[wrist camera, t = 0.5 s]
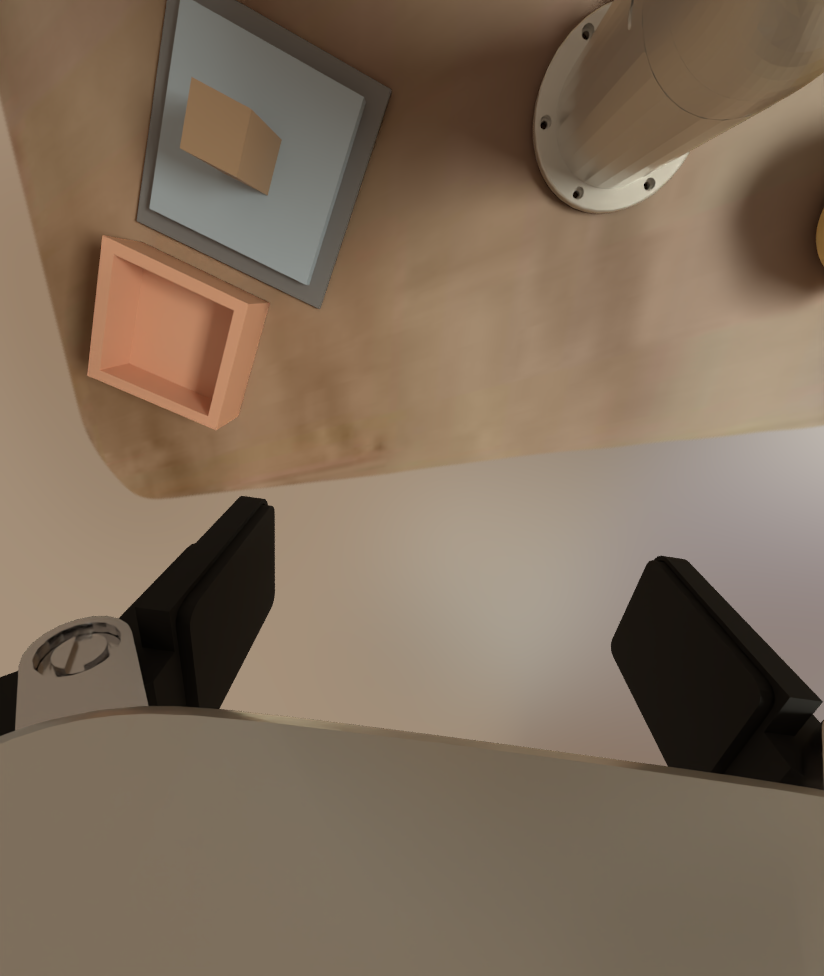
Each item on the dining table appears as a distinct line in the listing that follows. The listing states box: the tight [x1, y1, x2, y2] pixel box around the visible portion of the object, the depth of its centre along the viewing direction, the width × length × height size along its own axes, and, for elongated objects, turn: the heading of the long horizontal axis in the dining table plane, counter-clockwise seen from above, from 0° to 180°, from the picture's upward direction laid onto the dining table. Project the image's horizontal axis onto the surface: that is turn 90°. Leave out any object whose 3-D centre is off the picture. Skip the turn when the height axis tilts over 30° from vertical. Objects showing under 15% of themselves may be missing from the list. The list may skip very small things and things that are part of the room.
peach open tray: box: [87, 235, 270, 430], centre depth 38 cm, size 12×12×5 cm
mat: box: [137, 0, 392, 309], centre depth 34 cm, size 17×17×1 cm
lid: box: [149, 0, 366, 285], centre depth 31 cm, size 14×14×7 cm
